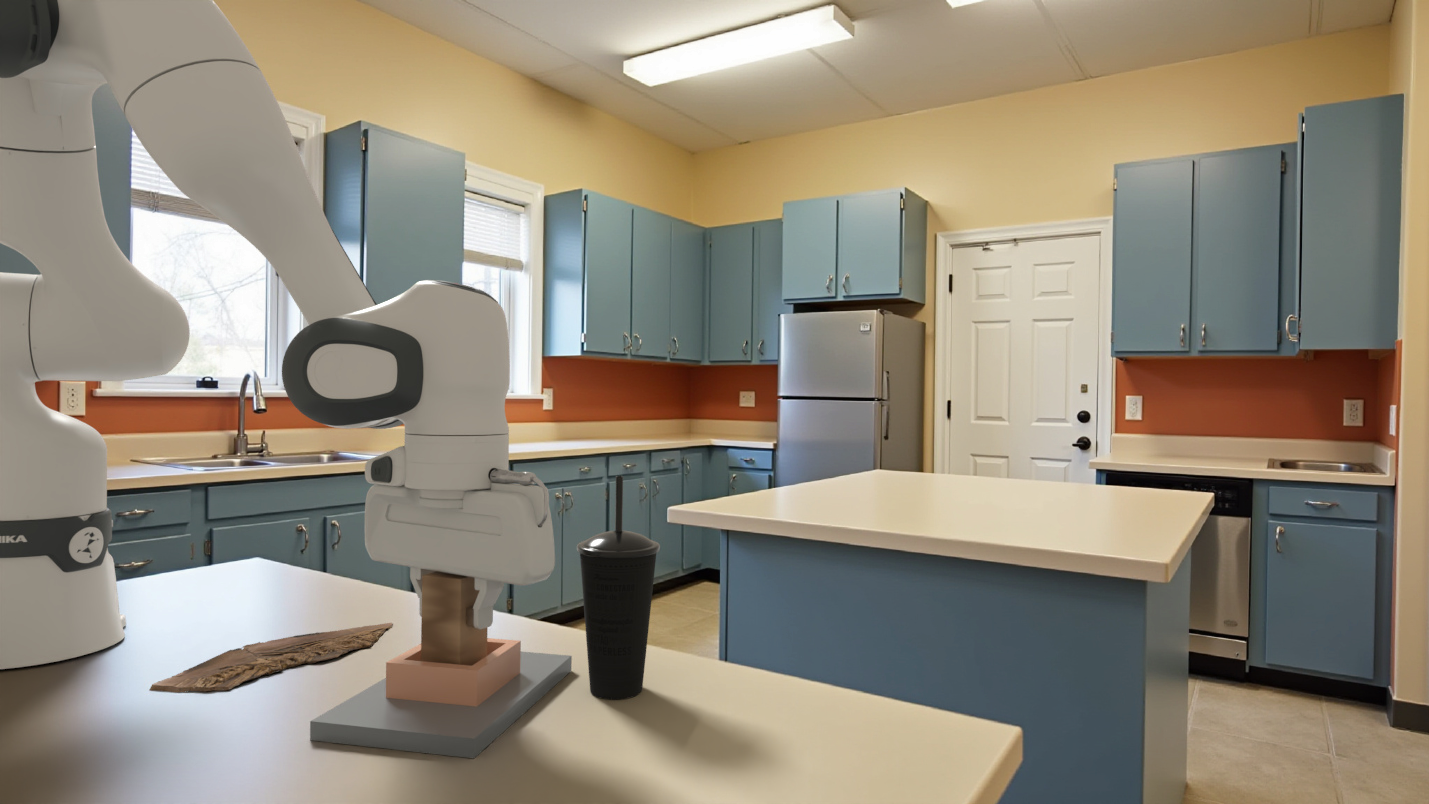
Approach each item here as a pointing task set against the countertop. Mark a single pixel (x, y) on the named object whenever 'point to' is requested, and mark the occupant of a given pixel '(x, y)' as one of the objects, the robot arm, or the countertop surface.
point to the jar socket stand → (444, 701)
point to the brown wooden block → (450, 620)
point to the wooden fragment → (269, 658)
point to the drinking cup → (617, 605)
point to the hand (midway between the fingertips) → (455, 621)
